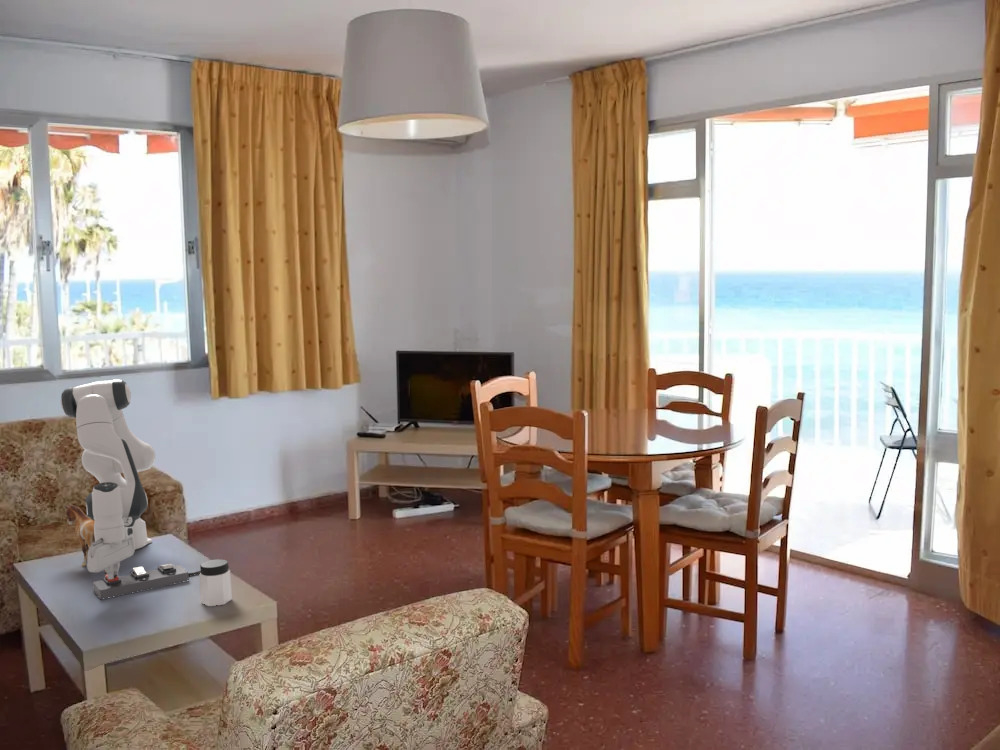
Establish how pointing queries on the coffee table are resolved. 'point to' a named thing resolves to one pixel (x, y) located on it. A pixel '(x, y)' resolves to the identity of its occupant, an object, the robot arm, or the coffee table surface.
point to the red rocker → (111, 579)
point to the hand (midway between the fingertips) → (113, 577)
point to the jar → (215, 582)
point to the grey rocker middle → (139, 571)
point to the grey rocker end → (166, 566)
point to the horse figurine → (82, 528)
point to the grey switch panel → (141, 581)
